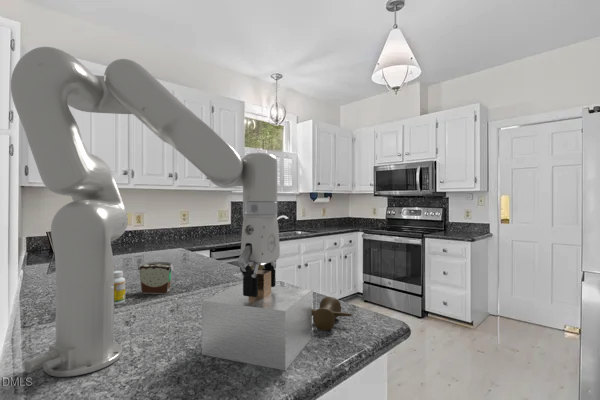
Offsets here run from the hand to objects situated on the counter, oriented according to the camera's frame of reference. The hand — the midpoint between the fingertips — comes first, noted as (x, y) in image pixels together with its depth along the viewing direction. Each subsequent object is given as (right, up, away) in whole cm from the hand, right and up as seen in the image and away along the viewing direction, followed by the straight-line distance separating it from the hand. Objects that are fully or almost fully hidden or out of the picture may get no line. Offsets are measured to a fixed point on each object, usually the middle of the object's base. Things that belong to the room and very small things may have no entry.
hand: (260, 290), depth 70 cm
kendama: (+12, -13, +14) cm, 22 cm away
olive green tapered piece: (-7, -13, +43) cm, 45 cm away
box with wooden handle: (0, -12, 0) cm, 12 cm away
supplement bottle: (-49, -13, +31) cm, 60 cm away
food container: (-41, -13, +44) cm, 62 cm away
